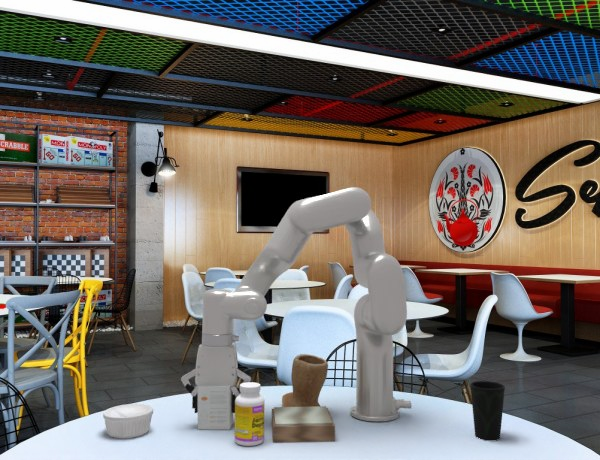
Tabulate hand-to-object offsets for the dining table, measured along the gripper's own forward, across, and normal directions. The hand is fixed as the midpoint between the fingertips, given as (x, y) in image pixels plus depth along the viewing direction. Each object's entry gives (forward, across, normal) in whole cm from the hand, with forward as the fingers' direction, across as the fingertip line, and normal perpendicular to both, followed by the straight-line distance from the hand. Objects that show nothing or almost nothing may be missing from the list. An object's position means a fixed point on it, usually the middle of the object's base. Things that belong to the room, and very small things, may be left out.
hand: (215, 411), depth 140 cm
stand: (+3, -21, +5) cm, 22 cm away
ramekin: (+5, +20, +3) cm, 21 cm away
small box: (+4, 0, 0) cm, 4 cm away
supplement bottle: (+4, -9, +11) cm, 15 cm away
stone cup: (+3, -23, -11) cm, 26 cm away
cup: (+3, -64, +11) cm, 65 cm away
